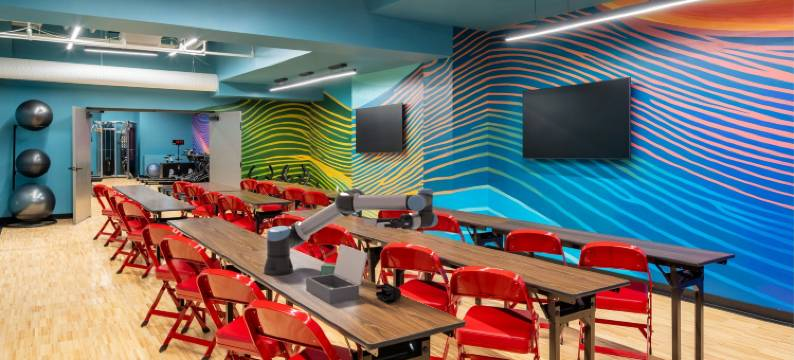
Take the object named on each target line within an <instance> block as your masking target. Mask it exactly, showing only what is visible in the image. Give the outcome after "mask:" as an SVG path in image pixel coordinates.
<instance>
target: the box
mask: <svg viewBox="0 0 794 360" xmlns="http://www.w3.org/2000/svg"><path fill="white" fill-rule="evenodd" d="M335 266H336V262H335V263H334V262H325V263H323V264H321V267H320V276H321V275H329V274H334V270H335ZM335 275H336V274H335ZM340 277H341V276H340ZM342 278H343V277H342ZM344 279H345V278H344ZM346 280H347V279H346Z"/></svg>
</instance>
